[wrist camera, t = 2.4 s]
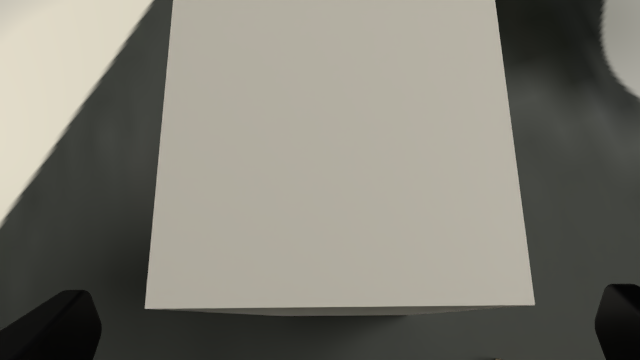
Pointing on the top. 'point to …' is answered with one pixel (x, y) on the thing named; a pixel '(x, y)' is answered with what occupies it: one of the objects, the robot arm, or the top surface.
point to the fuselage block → (336, 161)
